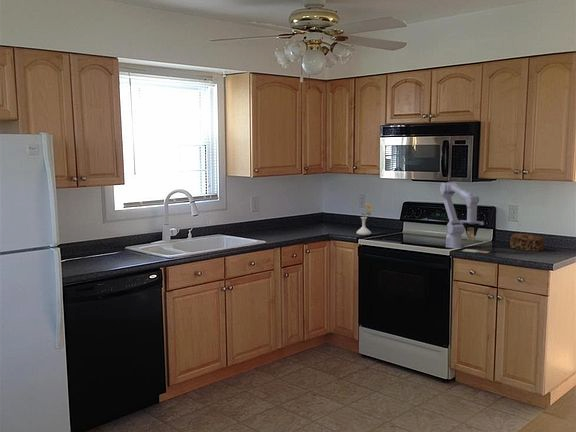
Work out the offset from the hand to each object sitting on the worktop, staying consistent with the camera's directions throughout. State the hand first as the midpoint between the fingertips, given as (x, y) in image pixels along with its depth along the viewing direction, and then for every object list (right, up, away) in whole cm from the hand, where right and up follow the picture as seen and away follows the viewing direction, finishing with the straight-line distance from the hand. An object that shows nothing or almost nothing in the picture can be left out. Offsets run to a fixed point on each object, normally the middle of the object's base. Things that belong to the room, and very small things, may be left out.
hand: (471, 235), depth 353 cm
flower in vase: (-57, -3, +76) cm, 95 cm away
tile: (+9, -10, 0) cm, 14 cm away
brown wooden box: (0, -3, 0) cm, 3 cm away
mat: (0, -10, +1) cm, 10 cm away
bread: (+39, -10, +9) cm, 41 cm away
